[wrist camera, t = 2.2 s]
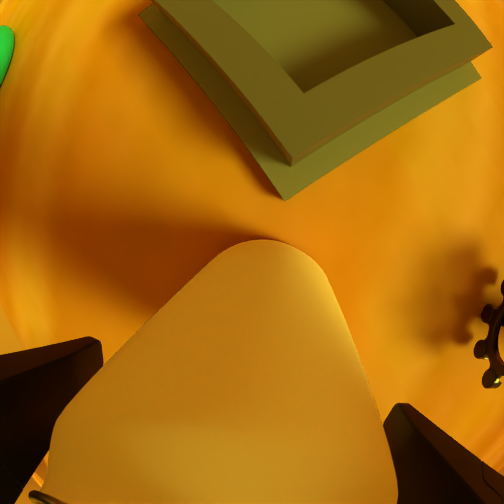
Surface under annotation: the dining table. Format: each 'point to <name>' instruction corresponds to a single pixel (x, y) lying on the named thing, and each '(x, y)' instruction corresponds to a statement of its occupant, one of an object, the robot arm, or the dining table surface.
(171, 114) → the dining table surface
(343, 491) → the can
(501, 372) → the valve
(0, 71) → the donuts
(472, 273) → the dining table surface
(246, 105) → the socket holder
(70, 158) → the dining table surface
